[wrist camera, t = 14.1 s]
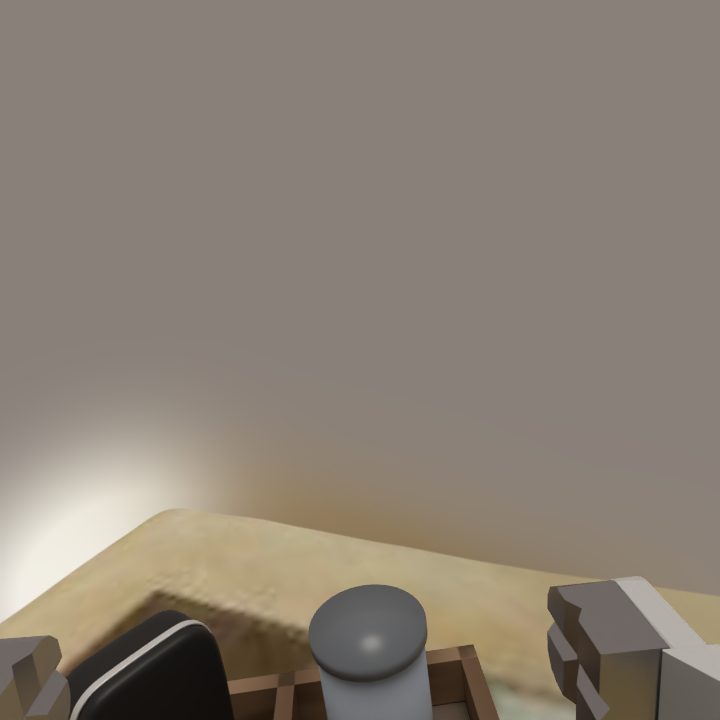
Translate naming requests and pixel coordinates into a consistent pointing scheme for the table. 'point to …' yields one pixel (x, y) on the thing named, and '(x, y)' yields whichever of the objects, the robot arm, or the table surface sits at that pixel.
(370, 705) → the canister
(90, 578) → the table surface
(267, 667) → the table surface
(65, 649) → the table surface
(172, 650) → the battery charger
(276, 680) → the dock
